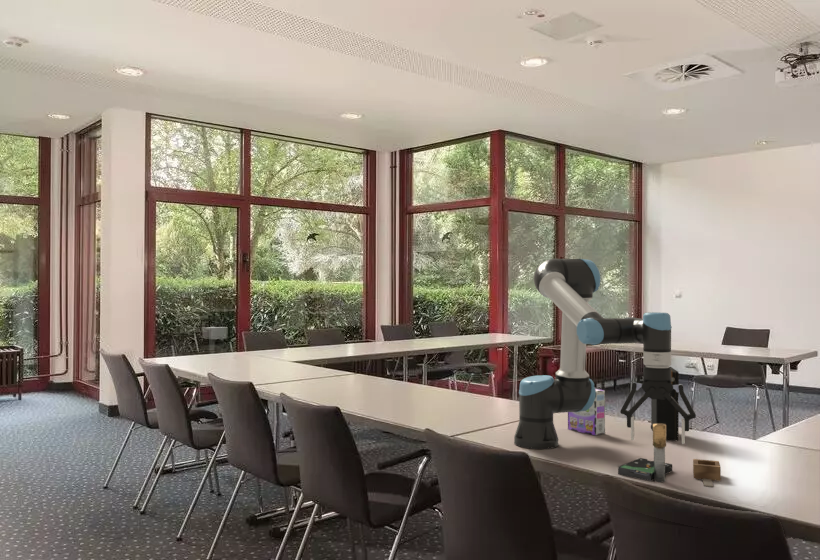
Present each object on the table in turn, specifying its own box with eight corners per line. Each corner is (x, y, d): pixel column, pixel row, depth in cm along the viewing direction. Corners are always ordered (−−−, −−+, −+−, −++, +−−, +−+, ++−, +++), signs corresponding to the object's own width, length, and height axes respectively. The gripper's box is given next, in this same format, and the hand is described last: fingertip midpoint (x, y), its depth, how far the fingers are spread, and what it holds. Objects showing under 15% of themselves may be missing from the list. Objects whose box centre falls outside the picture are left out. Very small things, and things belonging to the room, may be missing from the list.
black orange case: (681, 441, 243) (681, 371, 243) (655, 440, 245) (656, 370, 245) (673, 432, 258) (673, 366, 258) (649, 431, 260) (649, 365, 260)
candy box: (605, 434, 255) (605, 389, 255) (595, 436, 251) (595, 391, 251) (577, 427, 266) (577, 385, 266) (566, 429, 263) (567, 386, 263)
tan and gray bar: (652, 481, 194) (652, 425, 194) (652, 478, 197) (652, 422, 197) (666, 483, 193) (666, 426, 193) (665, 479, 196) (666, 423, 196)
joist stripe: (703, 486, 190) (703, 485, 190) (700, 467, 209) (700, 466, 209) (713, 487, 189) (713, 486, 189) (708, 467, 209) (708, 466, 209)
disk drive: (639, 466, 212) (617, 475, 202) (639, 457, 212) (617, 466, 202) (672, 473, 205) (651, 482, 194) (672, 463, 205) (651, 473, 194)
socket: (693, 478, 197) (694, 464, 197) (693, 472, 204) (693, 458, 204) (720, 481, 195) (720, 467, 195) (718, 474, 201) (718, 461, 201)
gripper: (610, 366, 197) (611, 440, 196) (705, 369, 188) (705, 447, 187) (612, 363, 204) (613, 435, 203) (703, 366, 195) (704, 441, 194)
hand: (657, 441), depth 195 cm, fingers open, 13 cm apart
